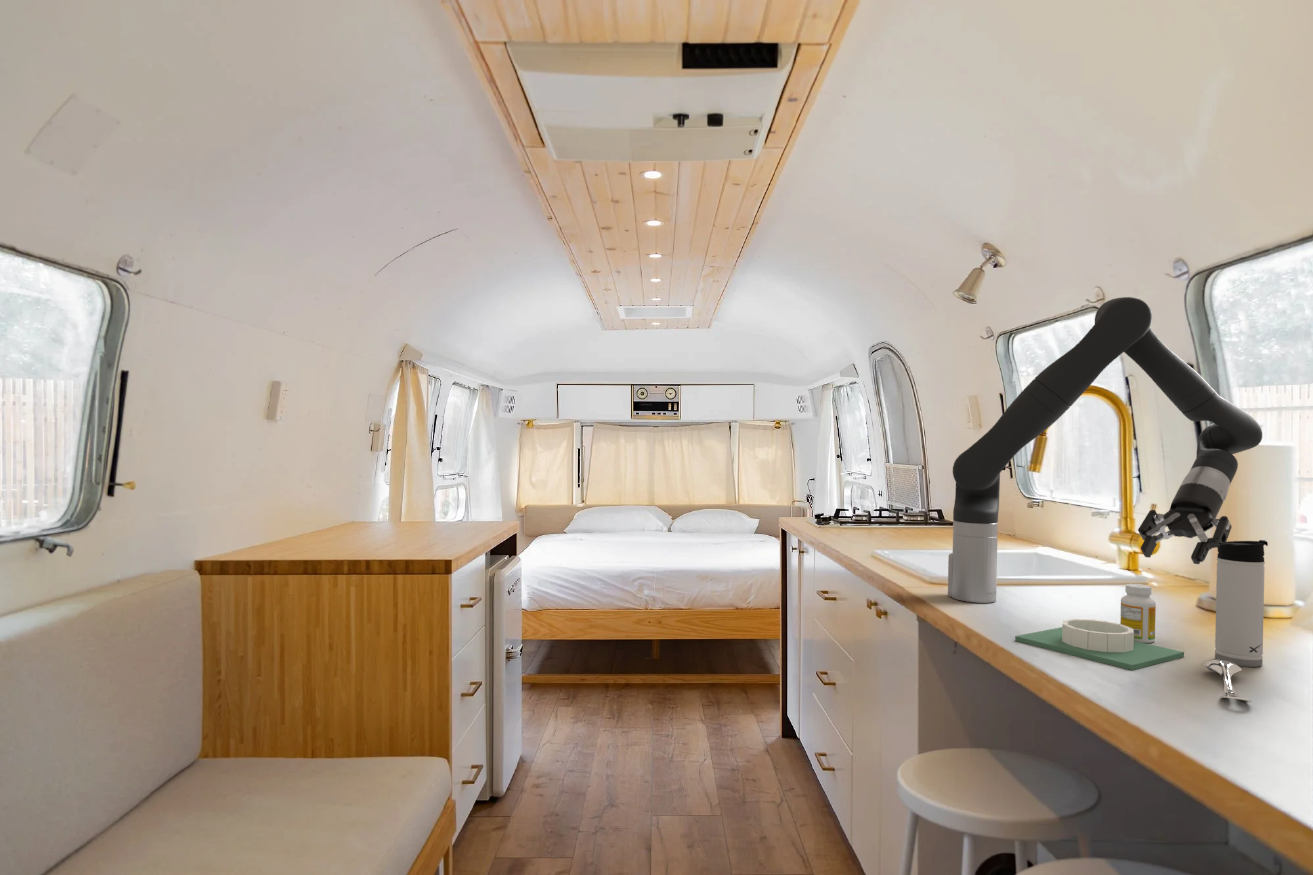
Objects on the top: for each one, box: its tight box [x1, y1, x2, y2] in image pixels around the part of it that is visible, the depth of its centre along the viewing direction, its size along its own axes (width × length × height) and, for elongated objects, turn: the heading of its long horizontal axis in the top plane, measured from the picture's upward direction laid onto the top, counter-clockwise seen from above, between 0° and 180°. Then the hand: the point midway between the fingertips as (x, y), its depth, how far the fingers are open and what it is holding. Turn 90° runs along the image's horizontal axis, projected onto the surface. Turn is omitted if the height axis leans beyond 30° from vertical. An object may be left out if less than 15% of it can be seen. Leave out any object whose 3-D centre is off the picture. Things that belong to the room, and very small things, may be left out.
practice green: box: [1014, 618, 1185, 671], centre depth 136 cm, size 20×16×4 cm
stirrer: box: [1203, 659, 1253, 703], centre depth 114 cm, size 20×4×5 cm
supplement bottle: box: [1119, 583, 1157, 644], centre depth 143 cm, size 5×5×10 cm
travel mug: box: [1214, 539, 1269, 668], centre depth 129 cm, size 6×7×20 cm
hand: (1169, 557), depth 148 cm, fingers open, 8 cm apart
